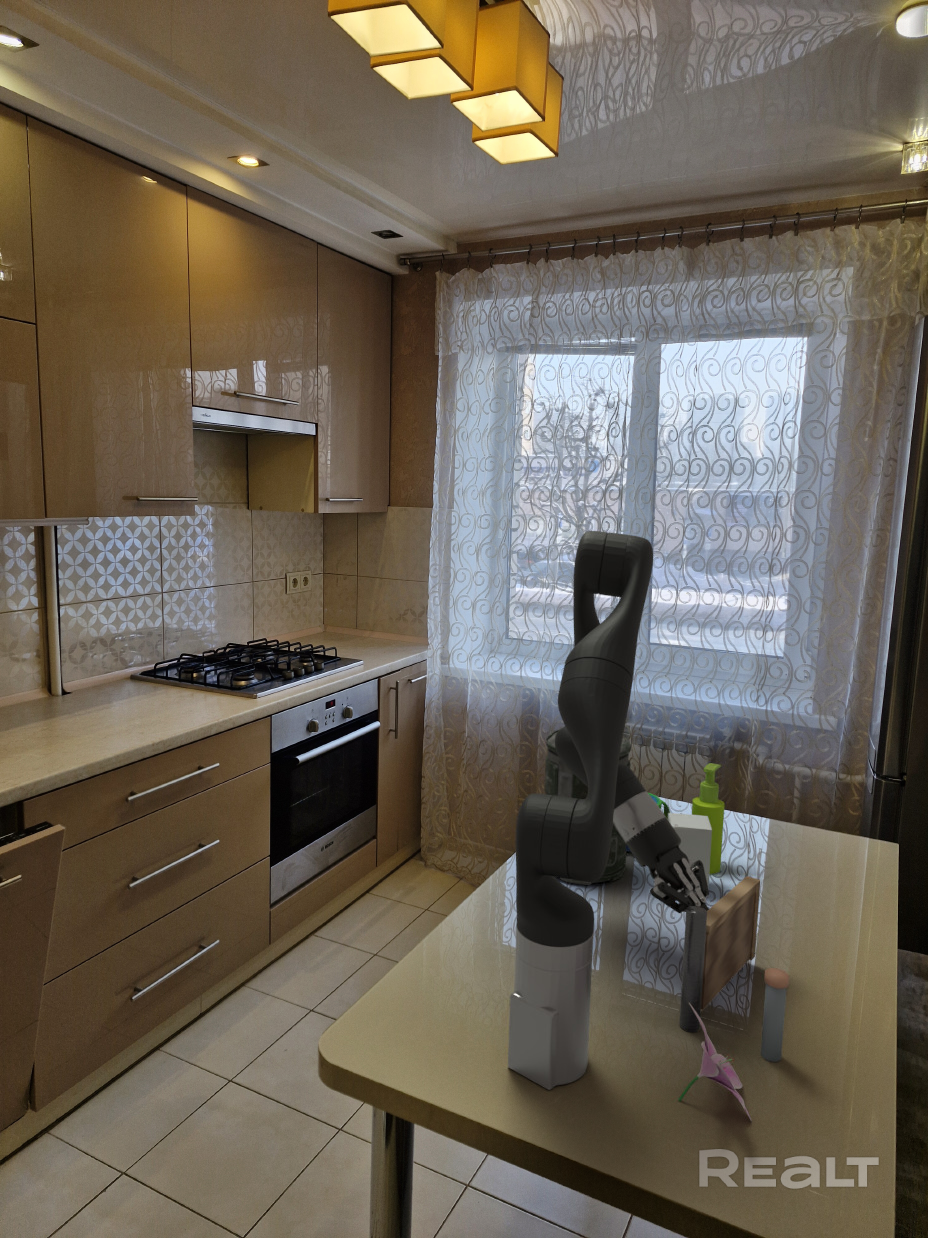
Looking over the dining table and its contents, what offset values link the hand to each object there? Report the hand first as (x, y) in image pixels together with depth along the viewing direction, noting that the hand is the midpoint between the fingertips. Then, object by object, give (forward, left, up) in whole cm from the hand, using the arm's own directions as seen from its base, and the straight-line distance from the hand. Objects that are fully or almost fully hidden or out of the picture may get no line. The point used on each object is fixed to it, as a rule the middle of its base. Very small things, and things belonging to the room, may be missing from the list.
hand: (712, 931), depth 119 cm
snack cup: (+33, +31, -6) cm, 45 cm away
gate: (-4, -3, -5) cm, 7 cm away
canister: (+17, +33, -6) cm, 37 cm away
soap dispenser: (+34, +16, -6) cm, 38 cm away
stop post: (-14, -14, -6) cm, 20 cm away
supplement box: (+23, +15, -6) cm, 28 cm away
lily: (-26, -12, -6) cm, 29 cm away
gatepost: (-15, -3, -6) cm, 16 cm away
